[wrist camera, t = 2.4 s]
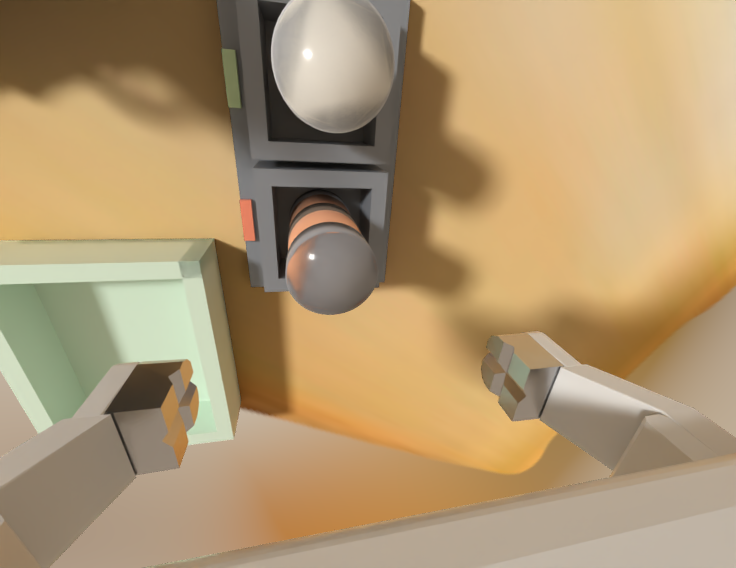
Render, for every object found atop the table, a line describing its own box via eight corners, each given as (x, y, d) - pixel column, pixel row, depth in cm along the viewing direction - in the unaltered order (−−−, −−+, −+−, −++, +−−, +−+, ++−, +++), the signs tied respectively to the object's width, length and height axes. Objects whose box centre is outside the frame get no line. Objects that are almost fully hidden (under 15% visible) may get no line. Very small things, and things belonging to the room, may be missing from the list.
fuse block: (215, -36, 14) (190, -85, 11) (405, -7, 16) (435, -40, 13) (252, 280, 22) (244, 311, 18) (381, 276, 23) (395, 303, 20)
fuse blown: (287, 188, 18) (282, 230, 11) (350, 189, 19) (381, 230, 12) (290, 248, 20) (288, 317, 13) (348, 247, 21) (375, 312, 14)
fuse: (279, 39, 15) (265, -27, 8) (355, 48, 16) (400, -7, 9) (283, 125, 17) (275, 129, 10) (352, 129, 18) (389, 136, 11)
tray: (1, 240, 18) (-63, 266, 15) (214, 238, 20) (199, 261, 17) (86, 417, 24) (55, 462, 21) (241, 400, 26) (233, 439, 23)
